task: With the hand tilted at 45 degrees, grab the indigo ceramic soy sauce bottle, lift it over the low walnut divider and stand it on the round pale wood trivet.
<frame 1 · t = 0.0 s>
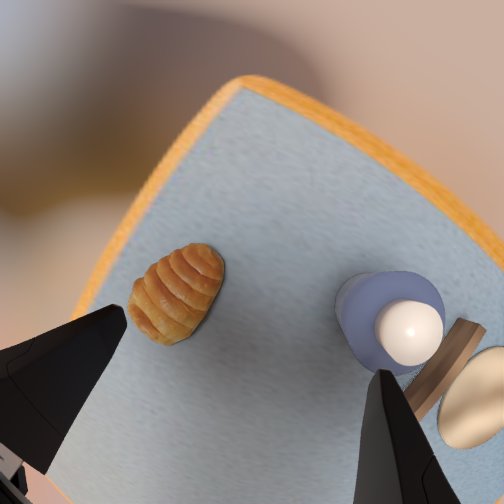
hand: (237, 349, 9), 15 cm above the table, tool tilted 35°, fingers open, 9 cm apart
trivet: (483, 399, 18), on the table
soy bottle: (365, 305, 22), on the table
divider: (422, 376, 20), on the table
pastry: (179, 293, 26), on the table
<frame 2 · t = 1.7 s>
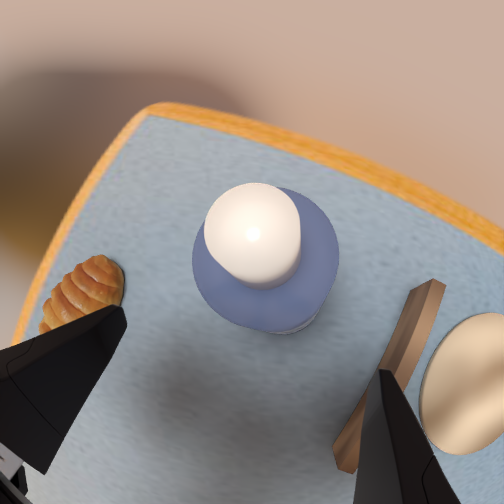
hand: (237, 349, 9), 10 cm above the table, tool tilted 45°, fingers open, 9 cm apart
trivet: (479, 385, 15), on the table
soy bottle: (283, 296, 20), on the table
divider: (381, 373, 17), on the table
pastry: (89, 314, 22), on the table
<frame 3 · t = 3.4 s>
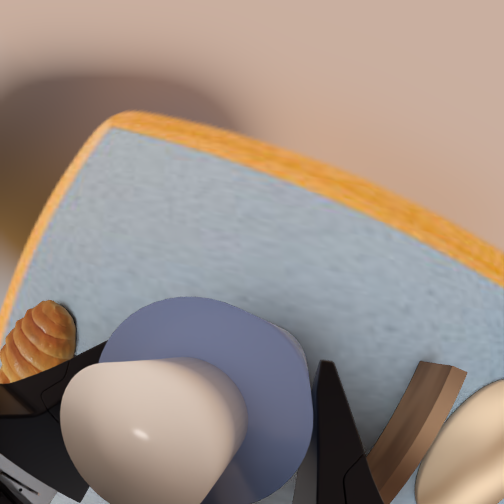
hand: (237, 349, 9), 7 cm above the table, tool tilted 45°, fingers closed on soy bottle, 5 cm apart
trivet: (485, 456, 10), on the table
soy bottle: (259, 369, 15), on the table, touching gripper
divider: (375, 456, 12), on the table
pastry: (47, 361, 18), on the table
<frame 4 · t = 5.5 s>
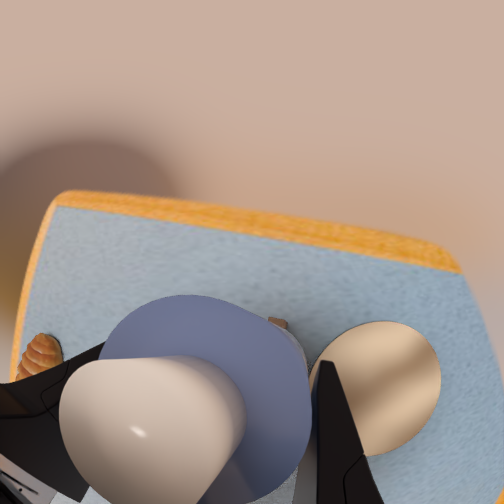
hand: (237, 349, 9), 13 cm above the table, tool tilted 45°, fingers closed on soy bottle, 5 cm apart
trivet: (375, 390, 19), on the table
soy bottle: (258, 368, 15), point 7 cm above the table, touching gripper
pastry: (48, 377, 24), on the table
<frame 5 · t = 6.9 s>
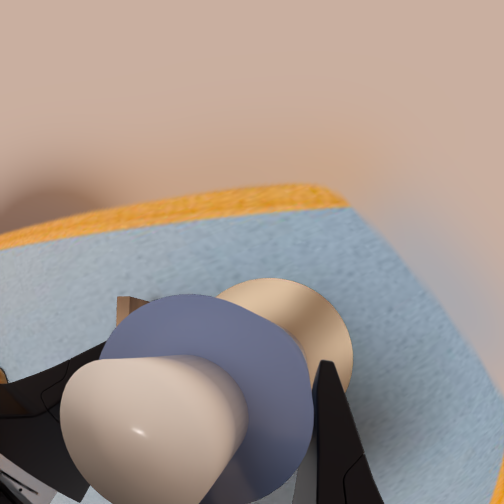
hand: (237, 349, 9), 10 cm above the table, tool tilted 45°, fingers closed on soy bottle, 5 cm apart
trivet: (268, 361, 18), on the table
soy bottle: (259, 368, 15), point 4 cm above the table, touching gripper
divider: (153, 382, 19), on the table
pastry: (5, 407, 21), on the table
when the fingers open (9 cm above the table, at t = 7.7 s): soy bottle drops 1 cm, resting on trivet.
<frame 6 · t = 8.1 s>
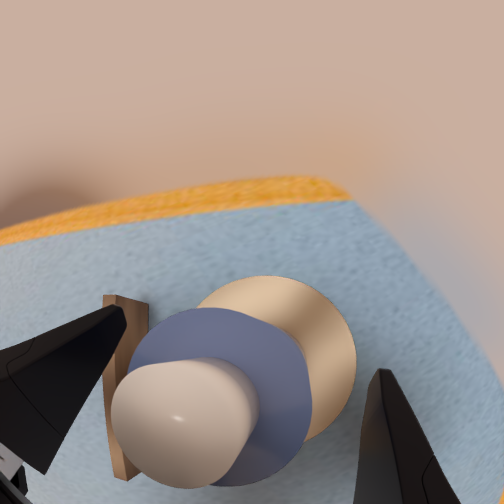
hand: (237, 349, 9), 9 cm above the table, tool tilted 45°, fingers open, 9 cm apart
trivet: (264, 365, 17), on the table
soy bottle: (262, 367, 16), point 1 cm above the table, touching trivet
divider: (143, 386, 18), on the table
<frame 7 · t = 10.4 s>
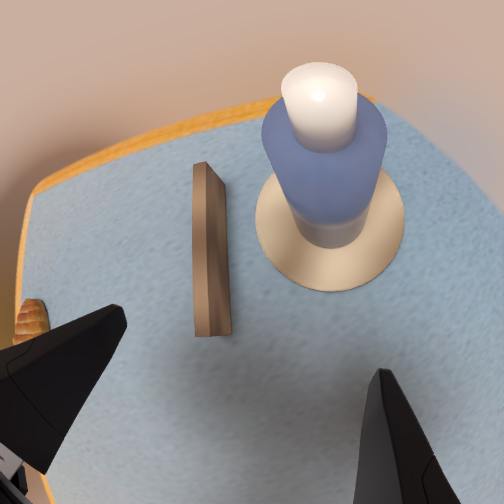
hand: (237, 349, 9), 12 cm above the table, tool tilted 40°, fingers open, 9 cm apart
trivet: (330, 216, 21), on the table
soy bottle: (330, 213, 20), point 1 cm above the table, touching trivet
divider: (221, 255, 22), on the table
pastry: (41, 343, 27), on the table
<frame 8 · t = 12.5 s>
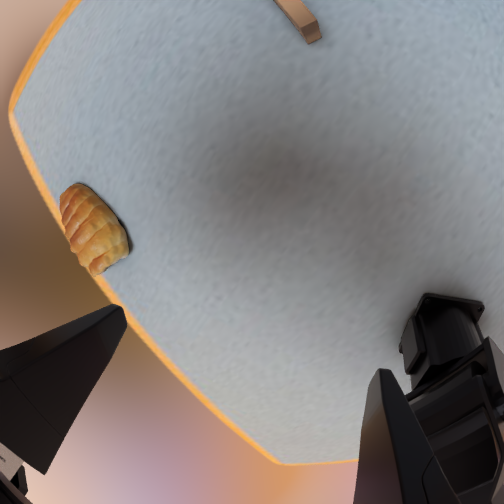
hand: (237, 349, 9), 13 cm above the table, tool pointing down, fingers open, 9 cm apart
pastry: (102, 227, 27), on the table
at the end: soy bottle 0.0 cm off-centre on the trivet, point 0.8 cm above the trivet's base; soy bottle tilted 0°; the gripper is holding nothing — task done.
